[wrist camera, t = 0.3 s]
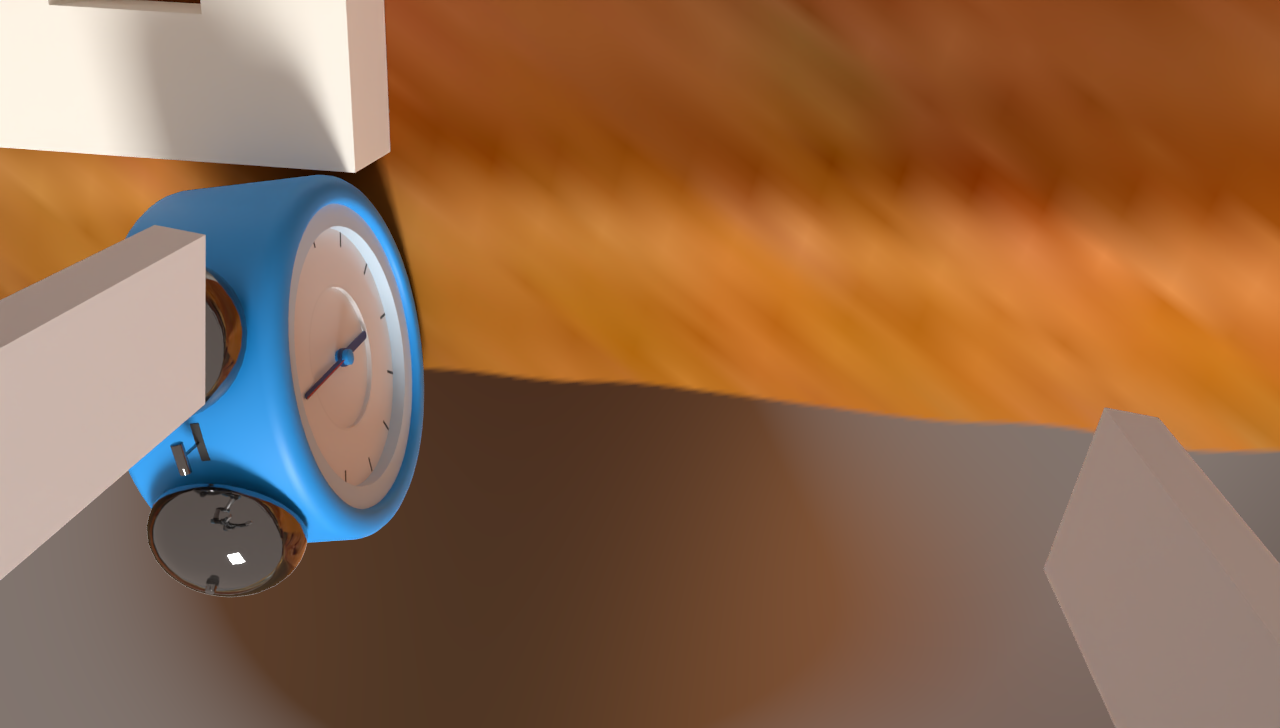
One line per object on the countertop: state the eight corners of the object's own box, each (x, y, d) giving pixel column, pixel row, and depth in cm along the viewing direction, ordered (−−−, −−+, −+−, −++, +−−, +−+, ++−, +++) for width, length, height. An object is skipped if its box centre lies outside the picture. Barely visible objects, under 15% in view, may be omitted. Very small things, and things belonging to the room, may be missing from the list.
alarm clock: (450, 436, 47) (320, 648, 33) (318, 446, 47) (139, 657, 34) (384, 140, 42) (200, 243, 28) (239, 158, 43) (-7, 266, 29)
